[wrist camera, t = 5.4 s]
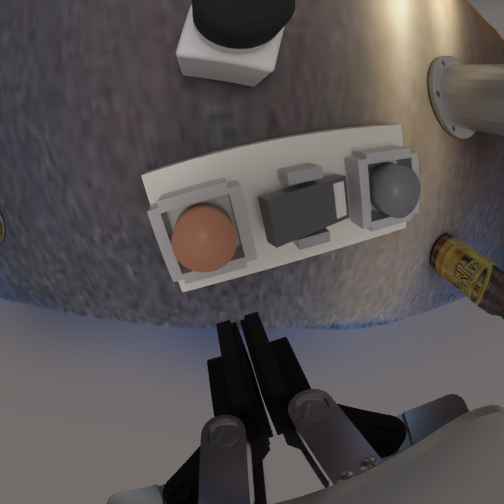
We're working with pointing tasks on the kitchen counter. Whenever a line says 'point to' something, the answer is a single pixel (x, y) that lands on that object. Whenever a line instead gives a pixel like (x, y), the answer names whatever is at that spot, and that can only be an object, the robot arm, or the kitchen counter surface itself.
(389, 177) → the slate button
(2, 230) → the supplement bottle
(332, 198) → the block
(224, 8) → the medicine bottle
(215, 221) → the terracotta button
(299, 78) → the kitchen counter surface
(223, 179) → the switch panel
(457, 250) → the sauce bottle
